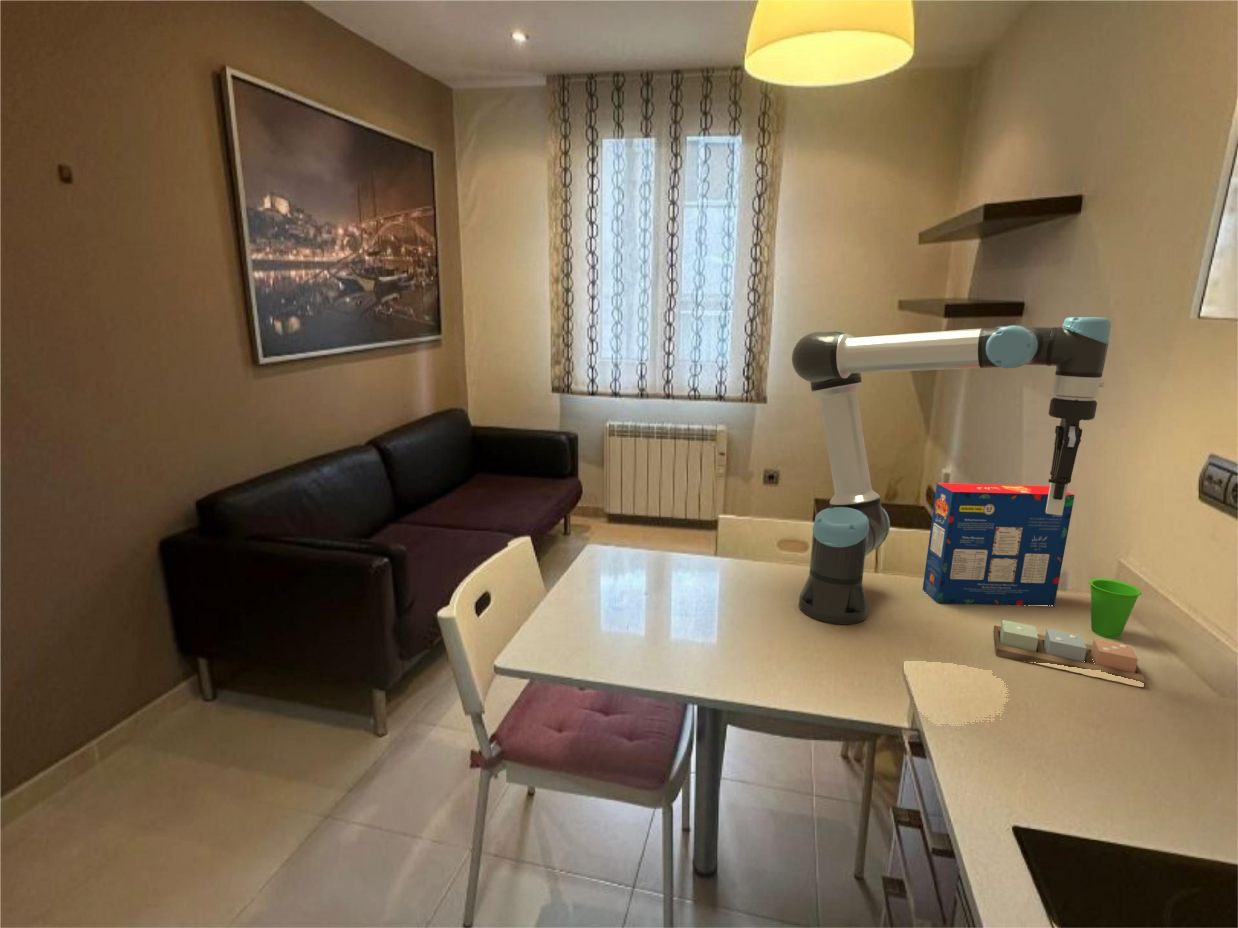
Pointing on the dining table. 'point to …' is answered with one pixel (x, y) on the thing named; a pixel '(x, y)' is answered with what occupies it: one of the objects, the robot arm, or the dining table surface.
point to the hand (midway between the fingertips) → (1053, 513)
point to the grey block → (1064, 645)
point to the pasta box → (995, 545)
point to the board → (1045, 658)
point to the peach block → (1113, 655)
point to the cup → (1111, 606)
